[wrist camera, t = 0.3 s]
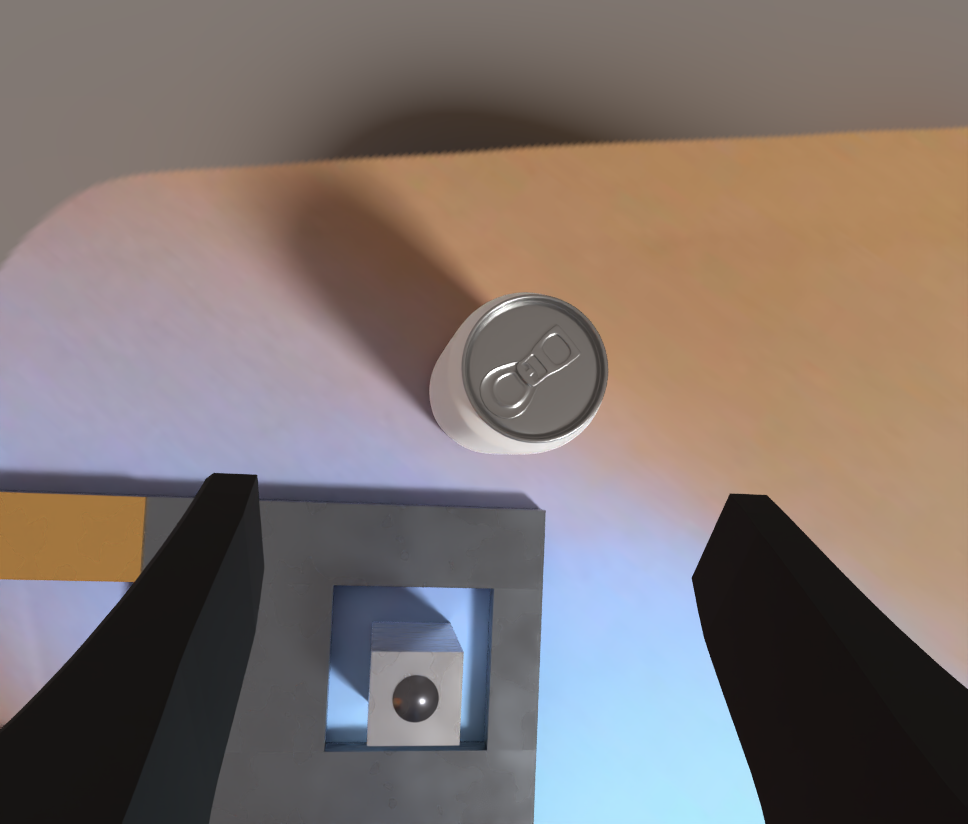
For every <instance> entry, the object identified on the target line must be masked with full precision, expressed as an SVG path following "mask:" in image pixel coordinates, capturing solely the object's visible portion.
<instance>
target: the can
mask: <svg viewBox="0 0 968 824" xmlns="http://www.w3.org/2000/svg"><path fill="white" fill-rule="evenodd" d="M607 380H608V360H607V354H606V350H605V347H604V344H603V341H602V339H601V337H600V335H599V333H598V331H597V330H596V328H595V327H594V325H593V324H592V323H591V321H590V320H589V319H588V318H587V317H586V316H585V315H584V314H583V313H582V312H581V311H579V310H578V309H577V308H575V307H574V306H572V305H571V304H569V303H567V302H565V301H563V300H560V299H558V298H555V297H551V296H547V295H543V294H538V293H528V292H523V293H513V294H508V295H504V296H501V297H498V298H496V299H493V300H491V301H489V302H487V303H485V304H484V305H482V306H481V307H479V308H478V309H477V310H475V311H474V312H473V313H472V314H471V315H470V316H469V317H468V318H467V319H466V320H465V321H464V322H463V323H462V325H461V326H460V327H459V329H458V330H457V331H456V333H455V334H454V336H453V337H452V339H451V340H450V341H449V343H448V344H447V346H446V347H445V349H444V350H443V352H442V354H441V355H440V357H439V359H438V360H437V362H436V364H435V366H434V369H433V372H432V375H431V379H430V386H429V397H430V404H431V408H432V412H433V415H434V418H435V420H436V421H437V423H438V425H439V426H440V427H441V429H442V430H443V431H444V432H445V433H446V434H447V435H448V436H449V437H450V438H451V439H453V440H454V441H455V442H456V443H458V444H459V445H461V446H463V447H465V448H467V449H469V450H472V451H475V452H479V453H486V454H536V453H542V452H546V451H550V450H553V449H556V448H558V447H560V446H562V445H564V444H566V443H568V442H569V441H571V440H572V439H574V438H575V437H576V436H578V435H579V434H580V433H581V432H582V431H583V430H584V429H585V428H586V427H587V426H588V425H589V423H590V422H591V421H592V419H593V418H594V416H595V414H596V413H597V411H598V409H599V407H600V404H601V401H602V399H603V396H604V393H605V390H606V386H607Z"/></svg>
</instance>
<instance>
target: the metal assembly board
mask: <svg viewBox="0 0 968 824" xmlns="http://www.w3.org/2000/svg"><path fill="white" fill-rule="evenodd" d="M194 498H195V497H183V496H155V495H126V494H97V493H69V492H40V491H11V490H0V579H14V580H63V581H113V582H135V581H136V579H137V578H138V577H139V575H140V574H141V573H142V571H143V570H144V569H145V567H146V566H147V565H148V563H149V562H150V561H151V559H152V558H153V557H154V556H155V554H156V553H157V552H158V550H159V549H160V548H161V546H162V545H163V543H164V542H165V541H166V539H167V538H168V536H169V535H170V533H171V532H172V531H173V529H174V528H175V526H176V525H177V523H178V522H179V521H180V519H181V518H182V516H183V515H184V513H185V512H186V510H187V509H188V507H189V506H190V504H191V502H192V501H193V499H194ZM259 504H260V516H261V529H262V541H263V554H264V566H265V568H264V576H263V583H262V590H261V598H260V605H259V612H258V619H257V626H256V632H255V636H254V641H253V645H252V649H251V653H250V657H249V660H248V664H247V668H246V672H245V676H244V680H243V684H242V688H241V692H240V696H239V700H238V704H237V708H236V711H235V715H234V719H233V723H232V727H231V731H230V735H229V739H228V743H227V746H226V750H225V754H224V758H223V762H222V766H221V770H220V774H219V778H218V782H217V787H216V791H215V796H214V800H213V805H212V810H211V815H210V821H209V824H533V822H534V796H535V770H536V744H537V718H538V693H539V667H540V641H541V615H542V589H543V564H544V538H545V512H546V511H545V510H542V509H528V508H499V507H471V506H442V505H413V504H385V503H356V502H327V501H298V500H270V499H259ZM334 585H346V586H395V587H444V588H490V609H489V633H488V656H487V680H486V703H485V726H484V742H460V743H459V745H446V746H367V742H353V743H326V728H327V709H328V691H329V672H330V654H331V636H332V617H333V599H334Z"/></svg>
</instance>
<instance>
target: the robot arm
mask: <svg viewBox="0 0 968 824" xmlns="http://www.w3.org/2000/svg"><path fill="white" fill-rule="evenodd" d="M264 568H265V566H264V554H263V541H262V529H261V516H260V504H259V492H258V479H257V475H250V474H225V473H213V474H212V475H210V476H209V477H208V478H206V480H205V481H204V483H203V485H202V486H201V488H200V490H199V491H198V493H197V495H196V496H195V498H194V499H193V501H192V502H191V504H190V506H189V507H188V509H187V510H186V512H185V513H184V515H183V516H182V518H181V519H180V521H179V522H178V523H177V525H176V526H175V528H174V529H173V531H172V532H171V533H170V535H169V536H168V538H167V539H166V541H165V542H164V543H163V545H162V546H161V548H160V549H159V550H158V552H157V553H156V554H155V556H154V557H153V558H152V559H151V561H150V562H149V563H148V565H147V566H146V567H145V569H144V570H143V571H142V573H141V574H140V575H139V577H138V578H137V579H136V581H135V582H134V583H133V584H132V586H131V587H130V588H129V590H128V591H127V592H126V593H125V595H124V596H123V597H122V598H121V600H120V601H119V602H118V603H117V604H116V606H115V607H114V608H113V609H112V610H111V611H110V613H109V614H108V615H107V616H106V617H105V619H104V620H103V621H102V622H101V623H100V624H99V626H98V627H97V628H96V629H95V630H94V631H93V633H92V634H91V635H90V636H89V637H88V639H87V640H86V641H85V642H84V643H83V644H82V646H81V647H80V648H79V649H78V650H77V651H76V652H75V653H74V654H73V656H72V657H71V658H70V659H69V660H68V661H67V662H66V663H65V664H64V665H63V667H62V668H61V669H60V670H59V671H58V672H57V673H56V674H55V675H54V676H53V677H52V678H51V679H50V680H49V681H48V682H47V684H46V685H45V686H44V687H43V688H42V689H41V690H40V691H39V692H38V693H37V694H36V695H35V696H34V697H33V698H32V699H31V700H30V701H29V702H28V703H27V704H26V705H25V706H24V707H23V708H22V709H21V710H20V711H19V712H18V713H17V714H16V715H15V716H14V717H13V718H12V719H11V720H10V721H9V722H8V723H7V724H6V725H4V726H3V727H2V728H1V729H0V824H209V821H210V815H211V810H212V805H213V800H214V796H215V791H216V787H217V782H218V778H219V774H220V770H221V766H222V762H223V758H224V754H225V750H226V746H227V743H228V739H229V735H230V731H231V727H232V723H233V719H234V715H235V711H236V708H237V704H238V700H239V696H240V692H241V688H242V684H243V680H244V676H245V672H246V668H247V664H248V660H249V657H250V653H251V649H252V645H253V641H254V636H255V632H256V626H257V619H258V612H259V605H260V598H261V590H262V583H263V576H264ZM692 582H693V587H694V592H695V597H696V603H697V608H698V613H699V617H700V622H701V626H702V631H703V635H704V639H705V642H706V645H707V648H708V651H709V654H710V657H711V660H712V663H713V666H714V669H715V672H716V675H717V678H718V680H719V683H720V686H721V689H722V692H723V695H724V698H725V700H726V703H727V706H728V709H729V712H730V715H731V717H732V720H733V723H734V726H735V729H736V732H737V734H738V737H739V740H740V743H741V746H742V749H743V751H744V754H745V757H746V760H747V763H748V766H749V768H750V771H751V774H752V777H753V781H754V784H755V787H756V790H757V794H758V797H759V800H760V804H761V807H762V811H763V815H764V820H765V824H968V689H967V688H966V687H965V686H963V685H962V684H961V683H960V682H959V681H957V680H956V679H955V678H954V677H953V676H952V675H950V674H949V673H948V672H947V671H946V670H945V669H943V668H942V667H941V666H940V665H939V664H938V663H936V662H935V661H934V660H933V659H932V658H931V657H930V656H929V655H928V654H927V653H926V652H924V651H923V650H922V649H921V648H920V647H919V646H918V645H917V644H916V643H915V642H913V641H912V640H911V639H910V638H909V637H908V636H907V635H906V634H905V633H904V632H902V631H901V630H900V629H899V628H898V627H897V626H896V625H895V624H894V623H893V622H892V621H891V620H890V619H889V618H888V617H887V616H886V615H885V614H884V613H883V612H881V611H880V610H879V609H878V608H877V607H876V606H875V605H874V604H873V603H872V602H871V601H870V600H869V599H868V598H867V597H866V596H865V595H864V594H863V593H862V592H861V591H860V590H859V589H858V588H857V587H856V586H855V585H854V584H853V583H852V582H851V581H850V580H849V579H848V578H847V577H846V576H845V575H844V574H843V573H842V572H841V571H840V570H839V568H838V567H837V566H836V565H835V564H834V563H833V562H832V561H831V560H830V559H829V558H828V557H827V556H826V555H825V554H824V553H823V552H822V551H821V550H820V549H819V548H818V547H817V546H816V545H815V544H814V543H813V542H812V541H811V539H810V538H809V537H808V536H807V535H806V534H805V533H804V532H803V531H802V530H801V529H800V528H799V527H798V526H797V525H796V524H795V523H794V522H793V521H792V520H791V519H790V518H789V517H788V516H787V515H786V514H785V513H784V512H783V511H782V510H781V509H780V508H779V507H778V506H777V505H776V504H775V503H774V502H773V501H772V500H771V499H770V498H769V497H768V496H767V495H753V494H730V495H729V497H728V499H727V501H726V503H725V506H724V508H723V510H722V512H721V514H720V517H719V519H718V521H717V523H716V525H715V528H714V530H713V532H712V534H711V536H710V539H709V541H708V543H707V545H706V548H705V550H704V552H703V554H702V556H701V559H700V561H699V563H698V565H697V567H696V570H695V572H694V574H693V576H692Z"/></svg>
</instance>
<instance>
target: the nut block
mask: <svg viewBox="0 0 968 824" xmlns="http://www.w3.org/2000/svg"><path fill="white" fill-rule="evenodd" d="M463 653H464V652H463V650H462V648H461V645H460V643H459V641H458V639H457V636H456V634H455V632H454V630H453V627H452V625H451V623H438V622H372V636H371V656H370V675H369V695H368V724H367V746H446V745H459V743H460V721H461V698H462V676H463Z"/></svg>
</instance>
